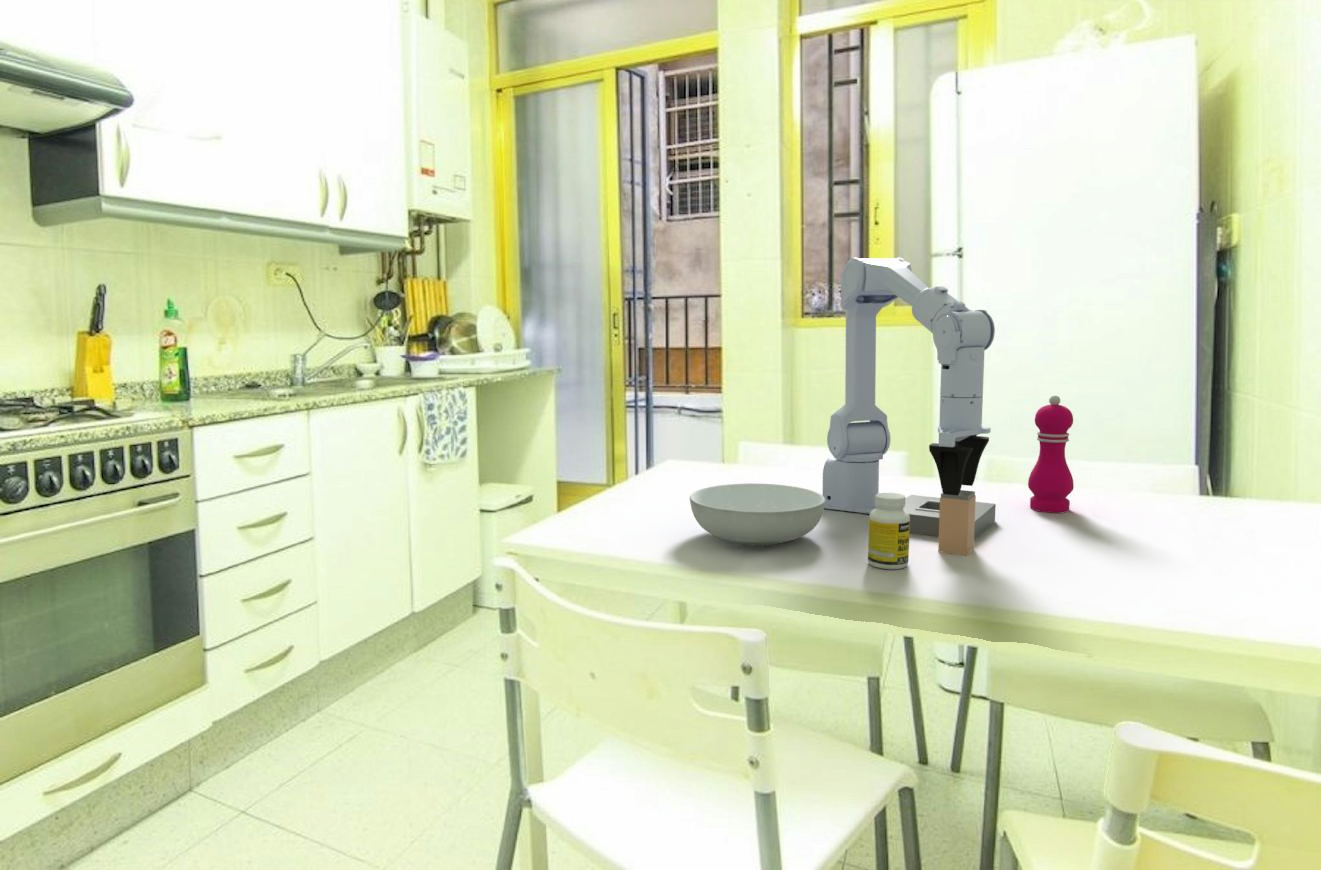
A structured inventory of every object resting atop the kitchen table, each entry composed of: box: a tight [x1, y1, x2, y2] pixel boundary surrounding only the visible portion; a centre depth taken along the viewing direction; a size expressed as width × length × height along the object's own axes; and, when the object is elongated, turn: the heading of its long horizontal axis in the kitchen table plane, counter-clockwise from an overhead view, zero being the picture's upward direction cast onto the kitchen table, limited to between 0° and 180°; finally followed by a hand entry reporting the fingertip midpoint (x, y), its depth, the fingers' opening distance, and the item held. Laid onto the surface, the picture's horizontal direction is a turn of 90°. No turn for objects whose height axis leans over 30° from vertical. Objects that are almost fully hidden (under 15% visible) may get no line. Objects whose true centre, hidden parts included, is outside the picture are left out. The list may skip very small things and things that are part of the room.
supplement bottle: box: [867, 492, 910, 570], centre depth 112 cm, size 5×5×10 cm
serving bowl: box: [689, 483, 825, 547], centre depth 127 cm, size 21×21×7 cm
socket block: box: [903, 494, 997, 541], centre depth 133 cm, size 14×14×3 cm
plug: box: [938, 489, 977, 556], centre depth 118 cm, size 4×4×9 cm
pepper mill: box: [1027, 395, 1074, 514], centre depth 141 cm, size 7×7×20 cm
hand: (958, 489), depth 118 cm, fingers open, 7 cm apart
